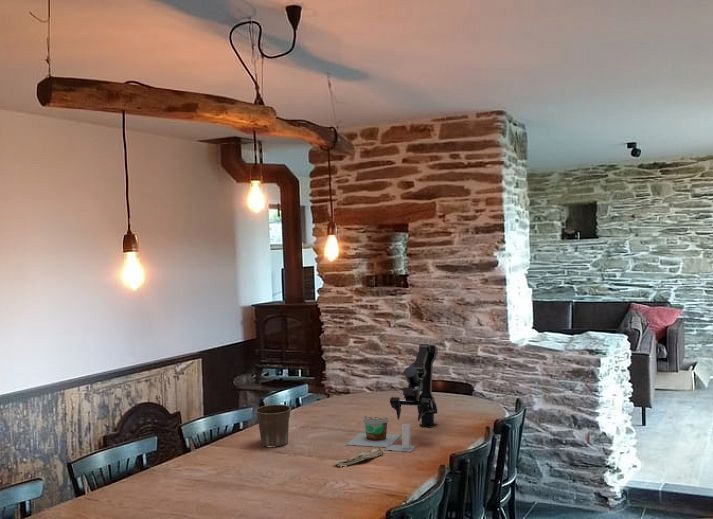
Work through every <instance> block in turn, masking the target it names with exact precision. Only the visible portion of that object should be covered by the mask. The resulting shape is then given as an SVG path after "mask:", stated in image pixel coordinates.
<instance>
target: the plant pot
mask: <svg viewBox="0 0 713 519" xmlns="http://www.w3.org/2000/svg"><path fill="white" fill-rule="evenodd" d="M291 410H292V407H291V406H289V405H288V404H287V405H285V404H270V405H269V404H268V405H263V406H260V407H256V409H255V414H256V419H257V421H258V428H259V436H260V444H262V446H263V445H264V446H277V447H282V446H281V445H284V446H286V445H287V444H288V443H289V424H290V417H291V416H290V415H291ZM285 444H286V445H285ZM264 446H263V447H264Z"/></svg>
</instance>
